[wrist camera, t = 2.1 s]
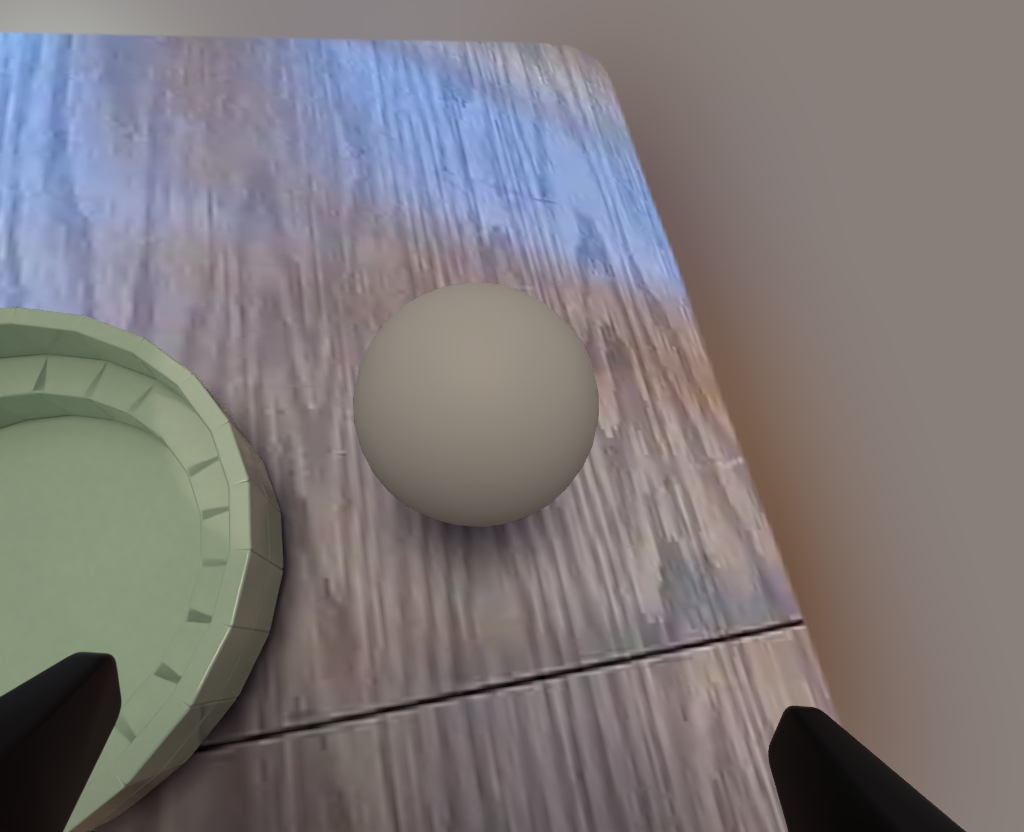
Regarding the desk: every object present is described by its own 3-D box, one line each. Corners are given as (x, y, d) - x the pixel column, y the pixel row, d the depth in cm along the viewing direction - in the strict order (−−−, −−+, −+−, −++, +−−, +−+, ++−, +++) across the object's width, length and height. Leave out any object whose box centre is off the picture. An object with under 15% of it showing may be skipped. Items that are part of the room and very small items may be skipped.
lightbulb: (528, 585, 21) (620, 517, 11) (361, 554, 21) (296, 456, 11) (550, 430, 23) (641, 259, 13) (400, 401, 23) (378, 202, 13)
